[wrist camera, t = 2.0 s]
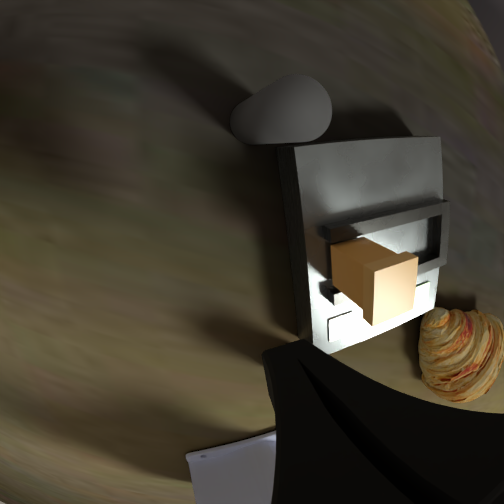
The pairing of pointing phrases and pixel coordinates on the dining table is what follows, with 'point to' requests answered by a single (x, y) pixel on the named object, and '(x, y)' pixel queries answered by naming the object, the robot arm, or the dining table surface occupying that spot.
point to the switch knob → (375, 278)
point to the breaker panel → (360, 224)
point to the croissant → (460, 352)
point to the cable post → (283, 112)
